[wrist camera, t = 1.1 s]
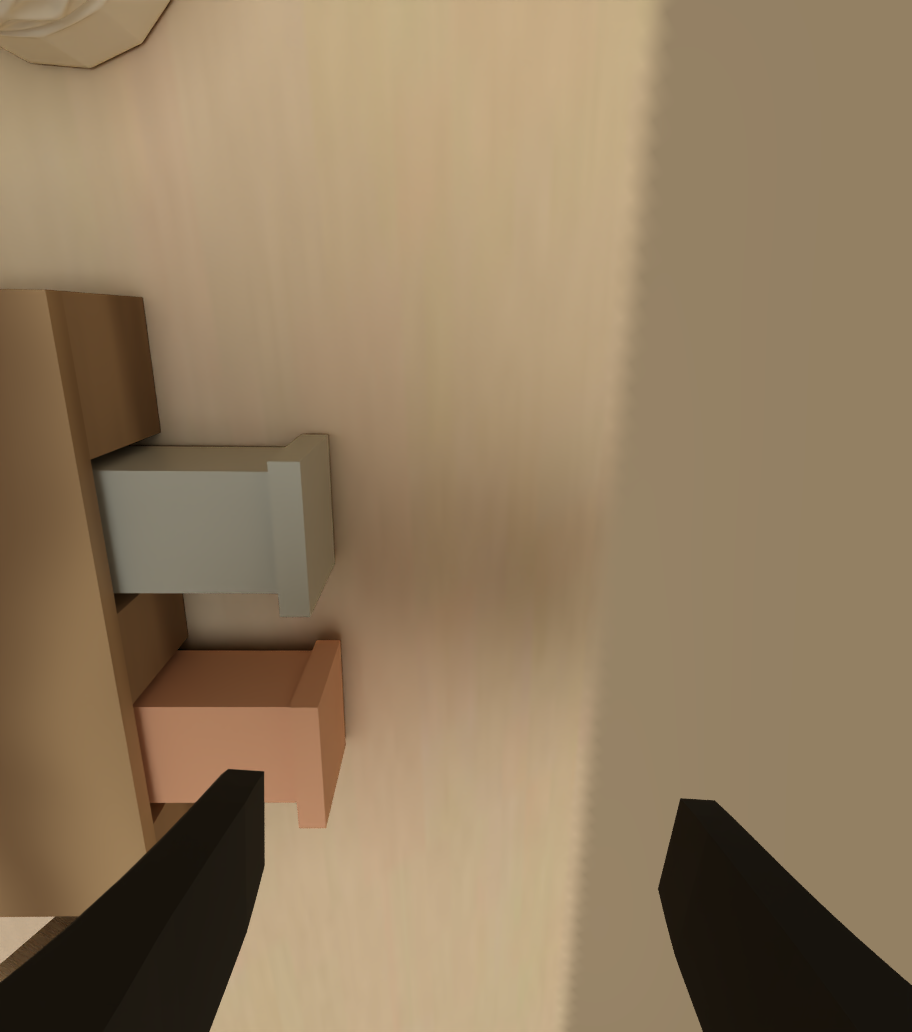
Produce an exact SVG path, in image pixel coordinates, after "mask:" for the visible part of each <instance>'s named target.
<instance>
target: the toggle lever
mask: <svg viewBox="0 0 912 1032" xmlns="http://www.w3.org/2000/svg"><path fill="white" fill-rule="evenodd" d="M78 917H79V916H56V917H55V918H53V919H52V920H51V921H50V922H49V923H48V924H46V925H45V926H44V927H43V928H42V929H41V930H39V931H38V932H37V933H36V934H35V935H34V936H32V937H31V938H30V939H29V940H28V941H27V942H25V943H24V944H23V945H22V946H21V947H20V948H19V949H17V950H16V951H15V952H14V953H13V954H12V955H10V956H9V957H8V958H7V959H6V960H5V961H3V962H2V963H1V964H0V982H1V981H2V980H4V979H5V978H6V977H7V976H9V975H10V974H11V973H12V972H14V971H15V970H16V969H17V968H18V967H20V966H21V965H22V964H23V963H25V962H26V961H27V960H28V959H30V958H31V957H32V956H33V955H34V954H36V953H37V952H38V951H39V950H40V949H42V948H43V947H44V946H45V945H46V944H48V943H49V942H50V941H51V940H52V939H53V938H55V937H56V936H57V935H58V934H59V933H60V932H62V931H63V930H64V929H65V928H66V927H67V926H69V925H70V924H71V923H72V922H73V921H74V920H75V919H77V918H78Z"/></svg>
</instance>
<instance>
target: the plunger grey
mask: <svg viewBox="0 0 912 1032" xmlns="http://www.w3.org/2000/svg"><path fill="white" fill-rule="evenodd" d="M91 465H92V471H93V477H94V483H95V489H96V494H97V500H98V506H99V512H100V518H101V523H102V529H103V535H104V541H105V547H106V552H107V558H108V564H109V570H110V576H111V581H112V587H113V593H241V594H278V600H279V612H280V617H311V614H312V612H313V610H314V608H315V606H316V603H317V601H318V599H319V597H320V595H321V593H322V590H323V588H324V586H325V584H326V582H327V579H328V577H329V575H330V573H331V571H332V568H333V566H334V564H335V556H334V537H333V518H332V499H331V480H330V461H329V441H328V435H325V434H301V435H300V436H299V437H298V438H296V439H295V440H294V441H293V442H291V443H290V444H289V445H287V446H286V447H190V446H124V447H122V448H119V449H117V450H114V451H112V452H109V453H106V454H104V455H101V456H99V457H96V458H94V459H91Z"/></svg>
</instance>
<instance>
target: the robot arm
mask: <svg viewBox="0 0 912 1032" xmlns="http://www.w3.org/2000/svg"><path fill="white" fill-rule="evenodd" d="M264 866H265V859H264V771H253V770H238V769H227V770H226V771H225V772H224V773H222V774H221V775H220V776H219V777H218V778H217V780H216V781H215V782H214V783H213V784H212V785H211V786H210V787H209V788H208V789H207V790H206V792H205V793H204V794H203V795H202V796H201V797H200V798H199V799H198V800H197V801H196V802H195V803H194V804H193V806H192V807H191V808H190V809H189V810H188V811H187V812H186V813H185V814H184V815H183V816H182V817H181V818H180V819H179V820H178V821H177V822H176V823H175V824H174V826H173V827H172V828H171V829H170V830H169V831H168V832H167V833H166V834H165V835H164V836H163V837H162V838H161V839H160V840H159V841H158V842H157V843H156V844H155V845H154V846H153V847H152V848H151V849H150V850H149V851H148V852H147V853H146V854H145V855H144V856H143V857H142V858H141V859H140V860H139V861H138V862H137V863H136V864H135V865H134V866H133V867H132V868H131V869H130V870H129V871H128V872H126V873H125V874H124V875H123V876H122V877H121V878H120V879H119V880H118V881H117V882H116V883H115V884H114V885H113V886H111V887H110V888H109V889H108V890H107V891H106V892H105V893H104V894H103V895H102V896H101V897H99V898H98V899H97V900H96V901H95V902H94V903H93V904H92V905H91V906H90V907H89V908H87V909H86V910H85V911H84V912H83V913H82V914H81V915H80V916H79V917H78V918H77V919H75V920H74V921H73V922H72V923H71V924H70V925H69V926H67V927H66V928H65V929H64V930H63V931H62V932H60V933H59V934H58V935H57V936H56V937H55V938H53V939H52V940H51V941H50V942H49V943H48V944H46V945H45V946H44V947H43V948H42V949H40V950H39V951H38V952H37V953H36V954H34V955H33V956H32V957H31V958H30V959H28V960H27V961H26V962H25V963H23V964H22V965H21V966H20V967H18V968H17V969H16V970H15V971H14V972H12V973H11V974H10V975H9V976H7V977H6V978H5V979H4V980H2V981H1V982H0V1032H209V1031H210V1028H211V1026H212V1023H213V1020H214V1018H215V1015H216V1013H217V1010H218V1007H219V1005H220V1002H221V999H222V997H223V994H224V992H225V989H226V986H227V984H228V981H229V978H230V976H231V973H232V970H233V968H234V965H235V962H236V960H237V957H238V954H239V952H240V949H241V946H242V944H243V941H244V938H245V935H246V933H247V929H248V926H249V922H250V918H251V915H252V911H253V908H254V904H255V900H256V896H257V893H258V889H259V885H260V881H261V877H262V873H263V870H264ZM658 890H659V894H660V899H661V903H662V907H663V911H664V915H665V919H666V923H667V927H668V931H669V935H670V939H671V943H672V946H673V950H674V954H675V957H676V959H677V962H678V965H679V968H680V971H681V974H682V976H683V979H684V982H685V984H686V987H687V989H688V992H689V995H690V998H691V1001H692V1003H693V1006H694V1009H695V1011H696V1014H697V1017H698V1019H699V1022H700V1025H701V1027H702V1030H703V1032H912V985H911V984H910V983H908V982H907V981H906V980H904V978H903V977H901V976H900V975H899V974H898V973H897V972H896V971H894V970H893V969H892V968H891V967H890V966H889V965H888V964H887V963H885V962H884V961H883V960H882V959H881V958H880V957H879V956H877V955H876V954H875V953H874V952H873V951H872V950H871V949H869V948H868V947H867V946H866V945H865V944H864V943H863V942H862V941H860V940H859V939H858V938H857V937H856V936H855V935H854V934H853V933H852V932H851V931H849V930H848V929H847V928H846V927H845V926H844V925H843V924H842V923H841V922H840V921H838V919H836V918H835V917H834V916H833V915H832V914H831V913H830V912H829V911H828V910H827V909H826V908H825V907H824V906H823V905H821V904H820V903H819V902H818V901H817V900H816V899H815V898H814V897H813V896H812V895H811V894H810V893H809V892H808V891H807V890H806V889H805V888H804V887H802V885H801V884H800V883H798V882H797V881H796V880H795V879H794V878H793V877H792V876H791V875H790V874H789V873H788V872H787V871H786V870H785V869H784V868H783V867H782V866H781V865H780V864H779V863H778V862H777V861H776V860H775V859H774V858H773V857H772V856H771V855H770V854H769V853H768V852H767V851H766V850H765V849H764V848H763V847H762V846H761V845H760V844H759V843H758V842H757V841H756V840H755V839H754V838H753V837H752V836H751V835H750V834H749V833H748V832H747V831H746V830H745V829H744V828H743V827H742V826H741V825H740V824H739V823H738V822H737V821H736V820H735V819H734V818H733V817H732V816H730V815H729V814H728V813H727V812H726V811H725V810H724V809H723V808H722V807H721V806H720V805H719V804H718V803H717V802H716V801H713V800H697V799H682V798H681V799H680V802H679V806H678V810H677V815H676V818H675V823H674V827H673V831H672V835H671V839H670V843H669V847H668V851H667V855H666V859H665V863H664V868H663V871H662V875H661V879H660V884H659V887H658Z"/></svg>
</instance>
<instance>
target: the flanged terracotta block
mask: <svg viewBox="0 0 912 1032" xmlns="http://www.w3.org/2000/svg"><path fill="white" fill-rule="evenodd" d="M133 709H134V715H135V721H136V727H137V732H138V738H139V744H140V750H141V756H142V762H143V767H144V773H145V779H146V785H147V791H148V796H149V802H150V803H195V802H196V801H197V800H198V799H199V798H200V797H201V796H202V795H203V794H204V793H205V792H206V790H207V789H208V788H209V787H210V786H211V785H212V784H213V783H214V782H215V781H216V780H217V778H218V777H219V776H220V775H221V774H222V773H224V772H225V771H226V770H227V769H238V770H253V771H264V802H297V809H298V821H299V828H326V826H327V821H328V817H329V813H330V809H331V804H332V800H333V796H334V792H335V787H336V783H337V779H338V775H339V770H340V766H341V762H342V758H343V754H344V749H345V745H346V743H345V724H344V705H343V685H342V666H341V646H340V640H316V642H315V645H314V647H313V650H312V651H201V650H177V651H176V652H175V653H174V654H173V656H172V657H171V658H170V659H169V661H168V662H167V663H166V664H165V665H164V667H163V668H162V669H161V670H160V672H159V673H158V674H157V675H156V677H155V678H154V679H153V680H152V681H151V683H150V684H149V685H148V686H147V688H146V689H145V690H144V691H143V692H142V694H141V695H140V696H139V697H138V699H137V700H136V701H135V702H134V703H133Z"/></svg>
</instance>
